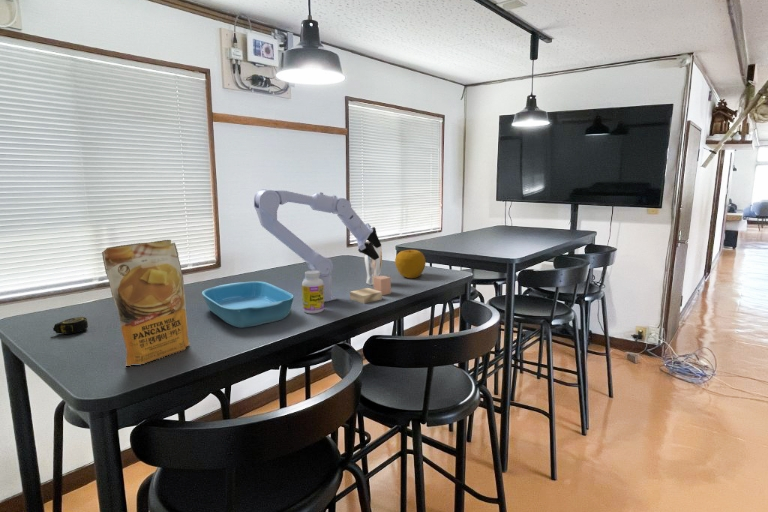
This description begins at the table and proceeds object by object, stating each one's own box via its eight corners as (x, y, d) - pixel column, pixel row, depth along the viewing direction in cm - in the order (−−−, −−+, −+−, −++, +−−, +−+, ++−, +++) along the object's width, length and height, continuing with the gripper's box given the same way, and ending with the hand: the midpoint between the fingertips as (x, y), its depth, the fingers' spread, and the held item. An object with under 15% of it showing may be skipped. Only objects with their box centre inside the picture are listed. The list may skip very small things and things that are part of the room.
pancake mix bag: (109, 366, 106) (94, 247, 101) (184, 340, 122) (174, 237, 117) (124, 372, 102) (109, 250, 97) (199, 345, 118) (189, 238, 113)
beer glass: (383, 281, 185) (382, 244, 182) (381, 285, 178) (380, 247, 175) (366, 281, 185) (365, 245, 183) (363, 285, 179) (362, 247, 176)
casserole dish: (196, 307, 153) (194, 286, 152) (259, 296, 166) (258, 277, 165) (232, 338, 124) (230, 312, 123) (306, 321, 137) (305, 298, 136)
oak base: (363, 304, 154) (363, 296, 153) (350, 299, 160) (349, 291, 160) (382, 300, 159) (381, 291, 158) (368, 295, 165) (367, 287, 164)
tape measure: (74, 327, 134) (72, 315, 133) (94, 328, 133) (92, 316, 132) (53, 336, 128) (51, 323, 127) (75, 337, 126) (73, 324, 126)
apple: (390, 278, 189) (390, 251, 187) (401, 272, 201) (401, 246, 199) (420, 281, 184) (420, 253, 182) (429, 274, 196) (429, 248, 194)
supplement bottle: (308, 315, 142) (306, 275, 140) (300, 310, 147) (298, 271, 145) (327, 311, 145) (326, 272, 143) (318, 306, 151) (317, 268, 149)
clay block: (381, 295, 163) (381, 279, 162) (373, 293, 167) (373, 277, 166) (390, 293, 166) (390, 277, 165) (383, 291, 170) (382, 275, 169)
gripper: (361, 231, 154) (384, 259, 159) (367, 210, 166) (388, 237, 171) (345, 240, 157) (368, 267, 162) (352, 219, 168) (373, 245, 174)
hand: (377, 252), depth 167 cm, fingers open, 7 cm apart
